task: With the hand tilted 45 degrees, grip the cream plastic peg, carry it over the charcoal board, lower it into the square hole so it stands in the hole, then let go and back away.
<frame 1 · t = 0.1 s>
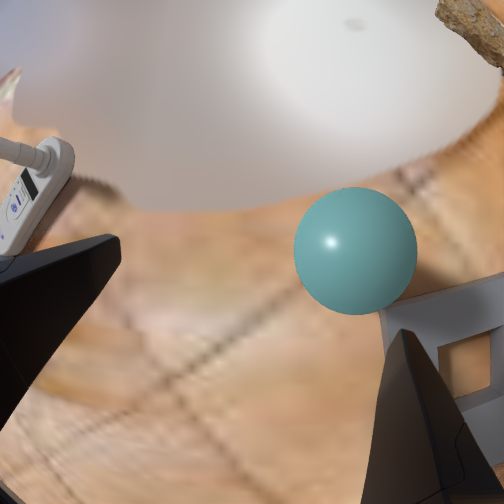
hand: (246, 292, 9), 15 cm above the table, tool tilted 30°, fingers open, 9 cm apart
socket board: (461, 386, 21), on the table
stone: (486, 50, 21), on the table
electronic device: (38, 201, 30), on the table
peg: (335, 258, 23), on the table
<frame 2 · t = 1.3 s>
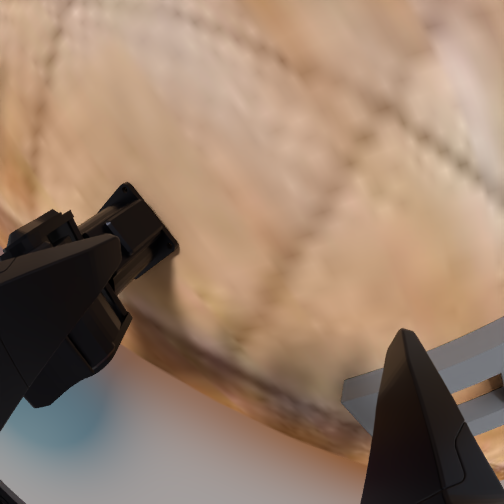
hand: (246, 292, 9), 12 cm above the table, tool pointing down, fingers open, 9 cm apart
socket board: (452, 389, 24), on the table
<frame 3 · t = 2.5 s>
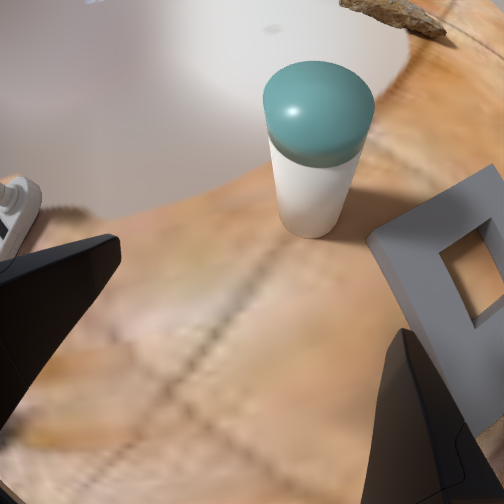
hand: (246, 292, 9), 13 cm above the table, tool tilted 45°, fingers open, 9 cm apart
socket board: (480, 299, 20), on the table
stone: (390, 20, 29), on the table
electronic device: (7, 246, 27), on the table
peg: (309, 209, 24), on the table
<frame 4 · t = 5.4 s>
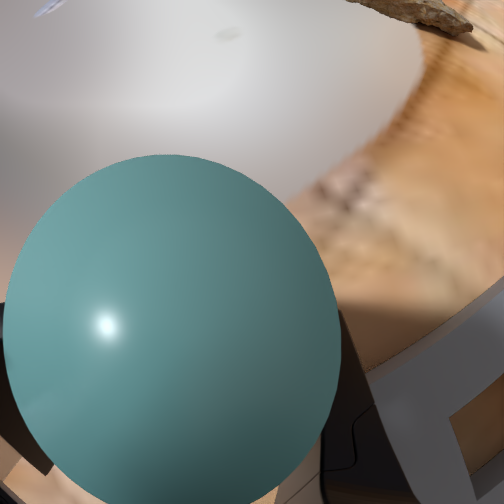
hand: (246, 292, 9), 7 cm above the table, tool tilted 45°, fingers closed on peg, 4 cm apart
socket board: (494, 442, 12), on the table
stone: (396, 13, 21), on the table
peg: (257, 337, 15), on the table, touching gripper
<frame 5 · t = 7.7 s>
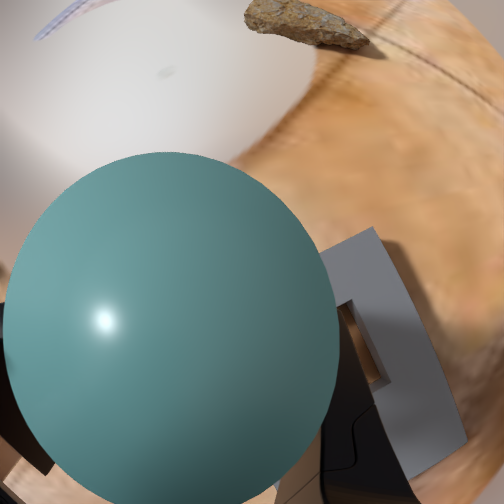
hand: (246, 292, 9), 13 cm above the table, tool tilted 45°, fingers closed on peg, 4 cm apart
socket board: (337, 385, 20), on the table
stone: (307, 36, 29), on the table
peg: (256, 337, 15), point 7 cm above the table, touching gripper
when the fingers open (9 cm above the table, at t = 10.3 s): peg drops 2 cm, resting in socket board.
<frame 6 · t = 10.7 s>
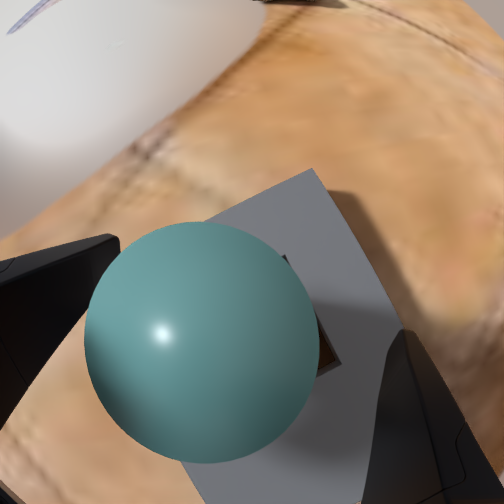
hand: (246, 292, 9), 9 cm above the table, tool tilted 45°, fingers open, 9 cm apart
socket board: (278, 369, 17), on the table
peg: (261, 338, 17), resting in socket board
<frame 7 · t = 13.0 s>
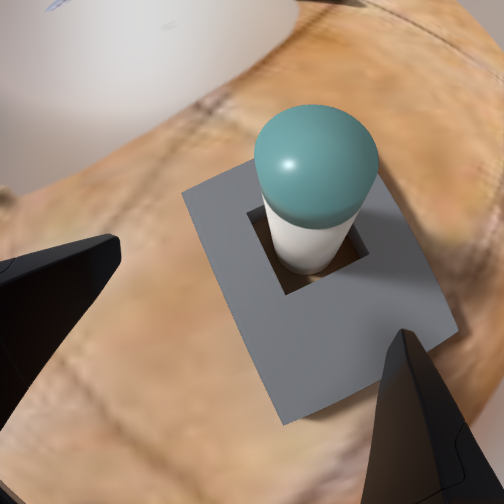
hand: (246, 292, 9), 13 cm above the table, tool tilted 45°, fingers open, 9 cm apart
socket board: (318, 267, 23), on the table
peg: (305, 243, 23), resting in socket board
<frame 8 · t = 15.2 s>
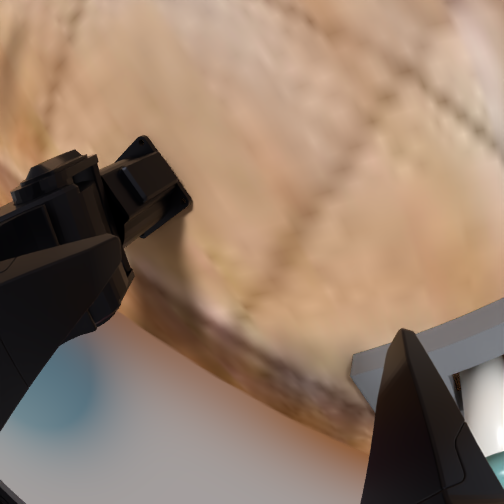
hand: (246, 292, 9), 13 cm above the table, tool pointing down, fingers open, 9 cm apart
socket board: (461, 370, 23), on the table
peg: (480, 362, 22), resting in socket board
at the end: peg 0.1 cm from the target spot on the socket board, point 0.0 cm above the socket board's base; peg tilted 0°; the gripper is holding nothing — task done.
